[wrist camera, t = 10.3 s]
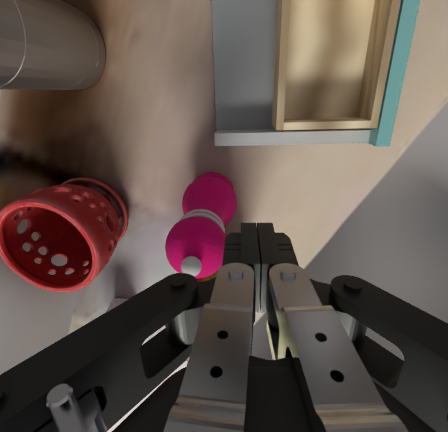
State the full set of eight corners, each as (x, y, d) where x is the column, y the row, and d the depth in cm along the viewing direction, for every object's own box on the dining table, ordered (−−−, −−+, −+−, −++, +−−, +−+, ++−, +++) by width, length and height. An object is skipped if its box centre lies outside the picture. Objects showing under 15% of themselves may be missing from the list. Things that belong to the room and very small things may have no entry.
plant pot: (63, 155, 40) (-3, 178, 29) (147, 197, 42) (114, 233, 31) (43, 225, 45) (-20, 267, 34) (118, 259, 47) (82, 310, 36)
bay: (217, 140, 38) (213, 149, 33) (211, -25, 31) (204, -51, 25) (367, 137, 37) (389, 145, 31) (398, -37, 29) (434, -66, 24)
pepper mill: (189, 166, 40) (145, 229, 22) (239, 171, 40) (237, 239, 22) (187, 212, 43) (147, 301, 25) (234, 217, 43) (228, 310, 24)
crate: (271, 125, 36) (276, 130, 31) (277, -10, 30) (283, -28, 26) (359, 123, 35) (377, 128, 31) (382, -16, 29) (407, -35, 25)
